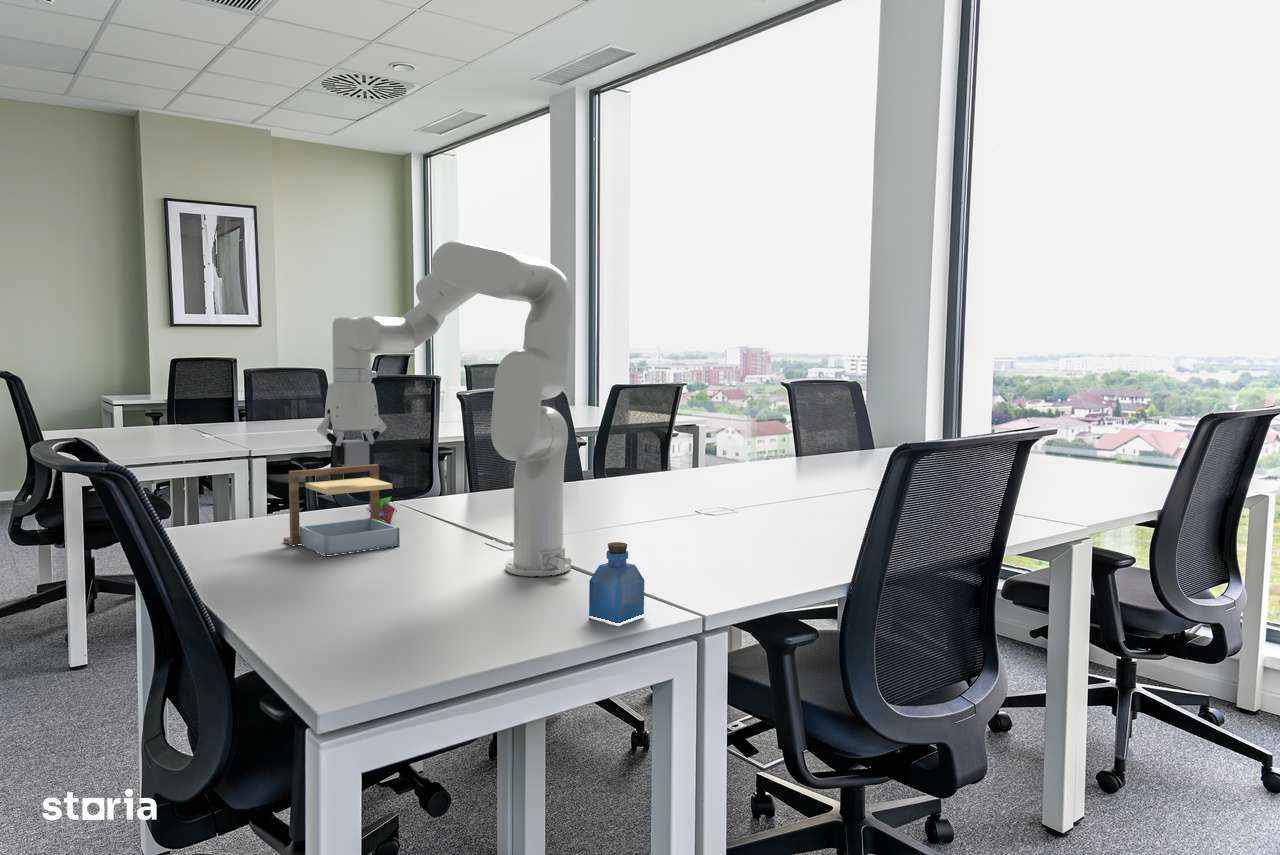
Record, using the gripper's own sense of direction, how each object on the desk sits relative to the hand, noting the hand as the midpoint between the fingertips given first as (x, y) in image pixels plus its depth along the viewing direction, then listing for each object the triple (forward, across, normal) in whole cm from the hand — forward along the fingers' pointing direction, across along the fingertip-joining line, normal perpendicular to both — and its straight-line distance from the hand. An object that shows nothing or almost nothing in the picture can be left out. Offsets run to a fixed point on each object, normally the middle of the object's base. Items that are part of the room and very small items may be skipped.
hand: (352, 462), depth 180 cm
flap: (+6, 0, -2) cm, 6 cm away
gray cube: (+1, 0, 0) cm, 1 cm away
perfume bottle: (+18, -12, +72) cm, 75 cm away
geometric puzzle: (+19, -16, -21) cm, 32 cm away
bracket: (+18, 0, -11) cm, 21 cm away
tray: (+18, 0, -2) cm, 18 cm away
